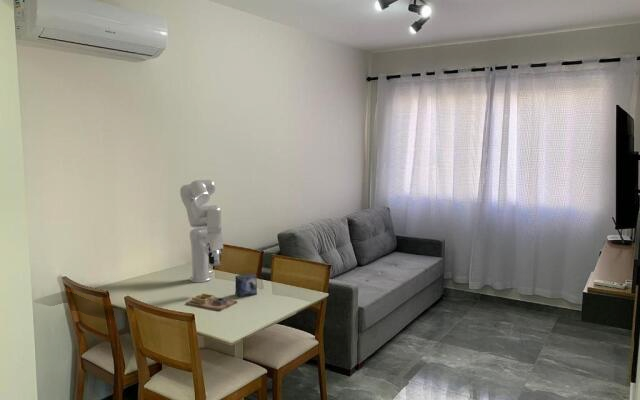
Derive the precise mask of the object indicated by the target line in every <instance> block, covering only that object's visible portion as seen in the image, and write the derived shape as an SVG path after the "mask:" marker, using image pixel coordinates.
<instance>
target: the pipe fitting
mask: <svg viewBox="0 0 640 400" xmlns="http://www.w3.org/2000/svg"><path fill="white" fill-rule="evenodd" d="M211 254H212V252H211ZM213 257H214V264H209V265H210V266H211V267H217V266H220V265H221V261H220V260H219V250H216V251H214V254H213Z"/></svg>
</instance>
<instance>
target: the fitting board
mask: <svg viewBox="0 0 640 400" xmlns="http://www.w3.org/2000/svg"><path fill="white" fill-rule="evenodd" d="M236 304H238V301H237V300H233V299H228V298H224V297H217V296H216V295H215V294H213V295H212V294H208V293H204V292H203V293H200V294H198V295H196V296H193V297H192V298H191V300H189V301H187V302H185V305H187V306H192V307H196V308H202V309H207V310H212V311H218V312H222V311H223V310H225V309H228V308H230V307H232V306H234V305H236Z"/></svg>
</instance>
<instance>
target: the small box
mask: <svg viewBox="0 0 640 400" xmlns="http://www.w3.org/2000/svg"><path fill="white" fill-rule="evenodd" d="M234 277H235V292H234V293H235V295H236V296H237V297H238V298H241V297H248V296H257V294H258V286H257V285H258V276H257V275H256V274H254V273H248V274H239V275H234Z"/></svg>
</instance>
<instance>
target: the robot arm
mask: <svg viewBox="0 0 640 400" xmlns="http://www.w3.org/2000/svg"><path fill="white" fill-rule="evenodd" d="M179 189H180V190H179V192H180V193H179V194H180V199H181V202H182V203H183V205H184V207H185V209H186V214H187V218H188V222H189V227H191V228H193V229H191V230H190V232H189V241H190V247H191V273H192V274H191V275H192V276H191V277H189V281H190V282H192V283H205V282H209V281H211V280H212V276H210V275H211V274H213V273H214V270H212V269H211V270H209V265H210V264H214V257H213V254H214V251H216V250H219V260H220V262H221V261H222V260H221V259H222V256H221V255H222V252H223V249H224V243H223V233H222V210H221V208H220V207H219V206H217V205H216V204H215V205H214V204H211V205H205V204H207V203H208V202H209V201H210V198H211V196H212V195H213V194H214V193H215V192H216V185H215V182H214V180H212V179H197V180H193V181H192V182H190V184H189V183H188V184H184V185H182V186H181V187H180V188H179ZM204 244H205V245H204ZM211 252H212V254H211Z"/></svg>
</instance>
